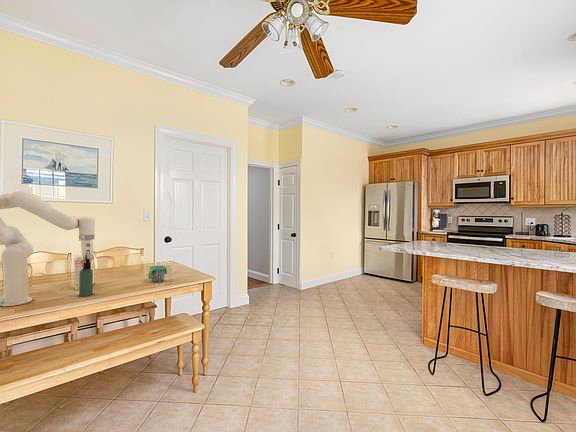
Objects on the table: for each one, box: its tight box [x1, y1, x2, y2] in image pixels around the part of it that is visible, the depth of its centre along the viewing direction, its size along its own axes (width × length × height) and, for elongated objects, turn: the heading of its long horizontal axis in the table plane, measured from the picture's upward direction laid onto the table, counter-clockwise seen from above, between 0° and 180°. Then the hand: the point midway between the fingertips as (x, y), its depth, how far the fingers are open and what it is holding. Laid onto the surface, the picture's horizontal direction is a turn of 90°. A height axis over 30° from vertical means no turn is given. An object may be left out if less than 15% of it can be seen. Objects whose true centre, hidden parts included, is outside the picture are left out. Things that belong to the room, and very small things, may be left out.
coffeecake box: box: [74, 255, 95, 291], centre depth 182 cm, size 15×7×20 cm, turn 21°
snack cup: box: [147, 265, 168, 283], centre depth 198 cm, size 16×10×10 cm
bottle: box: [78, 268, 94, 297], centre depth 165 cm, size 6×6×19 cm
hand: (86, 268), depth 165 cm, fingers closed on cap, 3 cm apart
